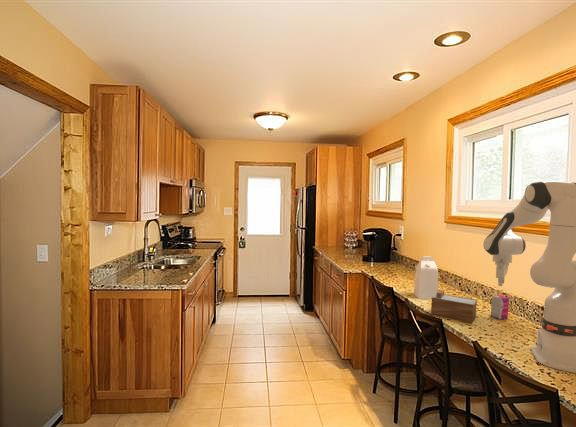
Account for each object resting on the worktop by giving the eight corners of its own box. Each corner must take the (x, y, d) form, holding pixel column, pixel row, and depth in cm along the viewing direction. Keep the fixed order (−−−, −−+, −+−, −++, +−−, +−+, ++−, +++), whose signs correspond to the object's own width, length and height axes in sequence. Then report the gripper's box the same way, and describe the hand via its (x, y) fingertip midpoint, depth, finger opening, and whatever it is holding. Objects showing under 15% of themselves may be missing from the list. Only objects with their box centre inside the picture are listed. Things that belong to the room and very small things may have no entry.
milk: (432, 294, 231) (434, 255, 230) (438, 299, 220) (440, 258, 219) (413, 293, 233) (415, 254, 232) (418, 298, 221) (420, 257, 220)
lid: (473, 306, 179) (473, 299, 179) (432, 299, 191) (432, 292, 191) (476, 302, 187) (476, 295, 187) (436, 295, 198) (436, 289, 198)
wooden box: (472, 323, 178) (473, 305, 178) (431, 314, 190) (431, 297, 190) (475, 317, 188) (476, 299, 188) (436, 309, 200) (437, 293, 199)
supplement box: (499, 319, 185) (500, 298, 185) (490, 316, 191) (491, 295, 190) (508, 319, 187) (509, 297, 186) (498, 315, 192) (499, 294, 192)
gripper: (507, 261, 177) (506, 288, 178) (510, 257, 194) (509, 282, 194) (493, 260, 181) (492, 286, 181) (497, 256, 198) (496, 280, 198)
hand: (501, 284), depth 188 cm, fingers open, 8 cm apart
